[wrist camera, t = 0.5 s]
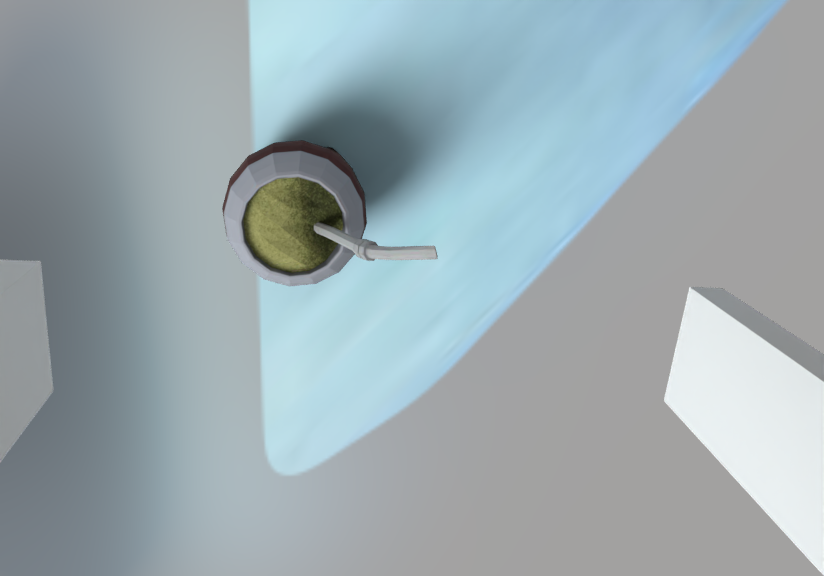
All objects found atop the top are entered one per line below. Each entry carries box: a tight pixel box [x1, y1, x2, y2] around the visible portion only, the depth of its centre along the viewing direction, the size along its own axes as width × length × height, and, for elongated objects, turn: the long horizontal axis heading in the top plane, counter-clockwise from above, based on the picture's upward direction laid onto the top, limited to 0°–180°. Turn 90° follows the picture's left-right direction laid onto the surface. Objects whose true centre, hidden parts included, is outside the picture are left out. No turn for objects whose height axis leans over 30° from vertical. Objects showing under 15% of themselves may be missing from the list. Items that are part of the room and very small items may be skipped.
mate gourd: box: [223, 140, 437, 286], centre depth 33 cm, size 8×8×15 cm
